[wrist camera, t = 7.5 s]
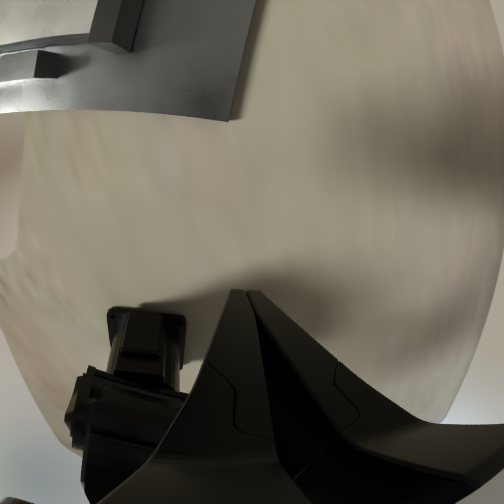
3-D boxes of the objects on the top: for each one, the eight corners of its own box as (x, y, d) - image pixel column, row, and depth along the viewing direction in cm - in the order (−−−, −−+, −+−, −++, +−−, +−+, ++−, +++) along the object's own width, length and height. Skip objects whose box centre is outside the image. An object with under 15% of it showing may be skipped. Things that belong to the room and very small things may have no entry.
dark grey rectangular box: (130, 52, 13) (111, 42, 10) (-49, 75, 10) (-84, 80, 6) (158, -46, 10) (150, -75, 7) (-29, -9, 6) (-59, -16, 3)
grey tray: (227, 121, 17) (239, 131, 12) (-63, 122, 11) (-109, 139, 6) (266, -44, 12) (292, -85, 7) (-36, -15, 6) (-77, -24, 1)
